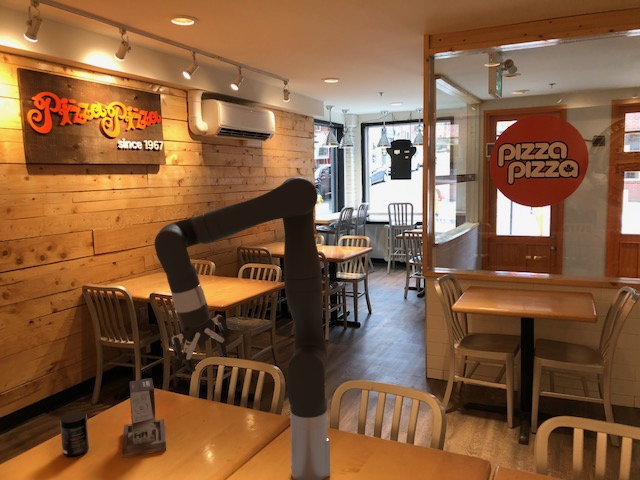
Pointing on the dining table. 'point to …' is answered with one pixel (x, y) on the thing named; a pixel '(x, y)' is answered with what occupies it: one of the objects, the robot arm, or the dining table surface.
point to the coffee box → (143, 411)
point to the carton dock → (144, 448)
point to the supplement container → (74, 434)
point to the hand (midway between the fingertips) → (208, 362)
